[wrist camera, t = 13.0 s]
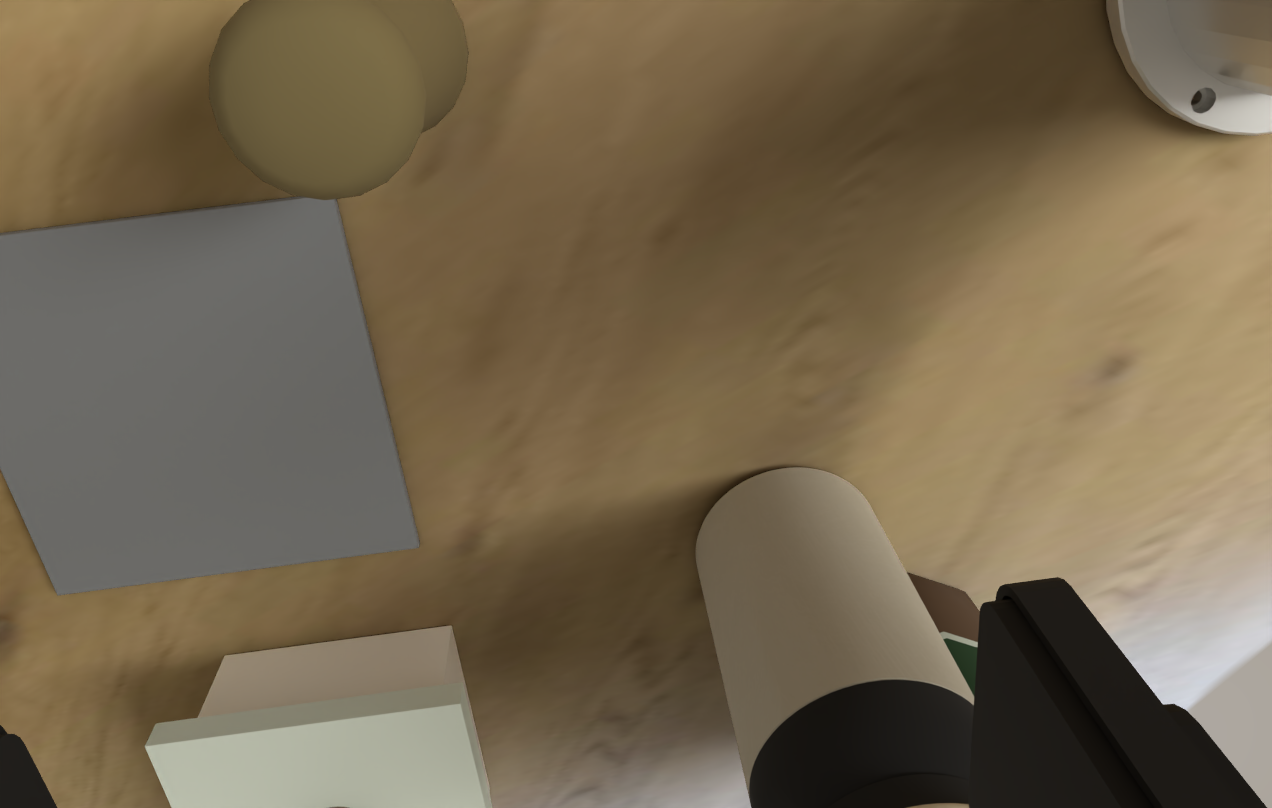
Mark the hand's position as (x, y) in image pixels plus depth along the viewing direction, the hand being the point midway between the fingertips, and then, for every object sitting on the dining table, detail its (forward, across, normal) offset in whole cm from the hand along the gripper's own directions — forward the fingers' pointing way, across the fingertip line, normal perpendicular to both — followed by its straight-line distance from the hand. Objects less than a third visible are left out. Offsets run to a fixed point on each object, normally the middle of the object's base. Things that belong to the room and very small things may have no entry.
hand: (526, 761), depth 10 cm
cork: (+28, +5, -4) cm, 29 cm away
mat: (+28, +15, +8) cm, 33 cm away
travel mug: (+28, -8, +18) cm, 35 cm away
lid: (+23, +12, +25) cm, 36 cm away
